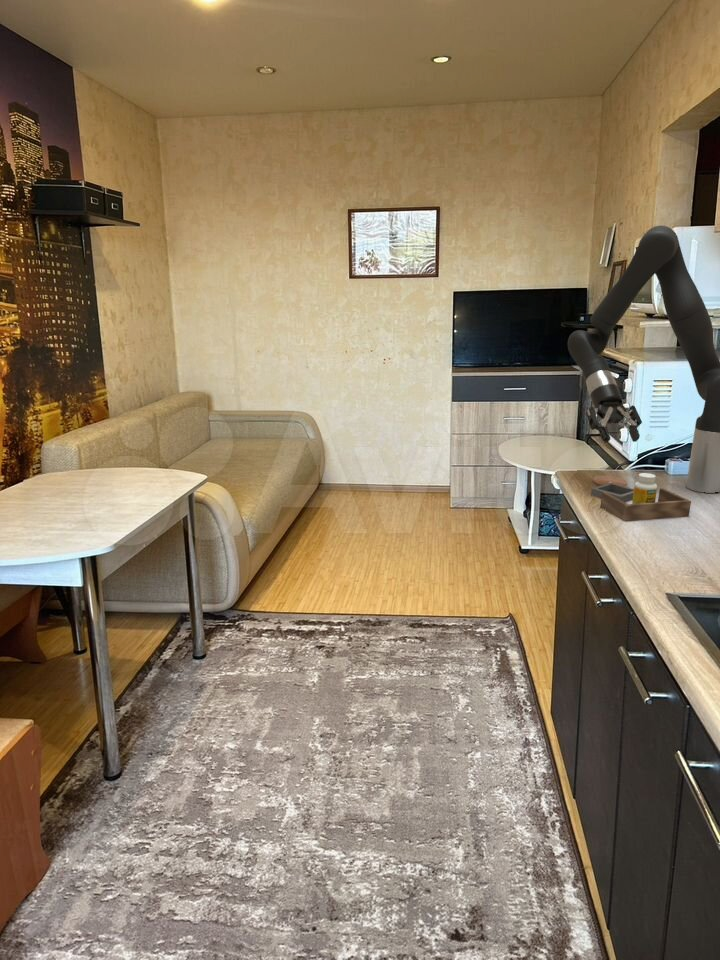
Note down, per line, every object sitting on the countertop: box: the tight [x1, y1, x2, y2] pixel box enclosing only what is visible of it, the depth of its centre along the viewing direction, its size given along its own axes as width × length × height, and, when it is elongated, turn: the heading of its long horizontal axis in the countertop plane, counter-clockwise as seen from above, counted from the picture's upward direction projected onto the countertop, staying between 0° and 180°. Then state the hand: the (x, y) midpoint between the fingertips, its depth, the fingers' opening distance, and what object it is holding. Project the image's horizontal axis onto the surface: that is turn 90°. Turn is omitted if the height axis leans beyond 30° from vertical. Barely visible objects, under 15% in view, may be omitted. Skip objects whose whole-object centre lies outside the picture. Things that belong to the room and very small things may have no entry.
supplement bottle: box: [631, 472, 658, 504], centre depth 172 cm, size 5×5×10 cm
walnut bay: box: [599, 487, 692, 522], centre depth 173 cm, size 18×11×4 cm, turn 103°
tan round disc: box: [593, 475, 628, 487], centre depth 197 cm, size 9×9×1 cm
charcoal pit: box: [590, 483, 634, 503], centre depth 185 cm, size 9×9×2 cm
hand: (622, 440), depth 180 cm, fingers open, 8 cm apart
